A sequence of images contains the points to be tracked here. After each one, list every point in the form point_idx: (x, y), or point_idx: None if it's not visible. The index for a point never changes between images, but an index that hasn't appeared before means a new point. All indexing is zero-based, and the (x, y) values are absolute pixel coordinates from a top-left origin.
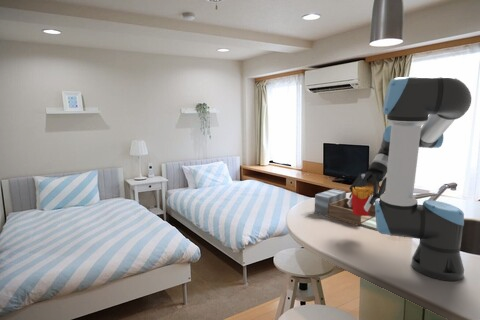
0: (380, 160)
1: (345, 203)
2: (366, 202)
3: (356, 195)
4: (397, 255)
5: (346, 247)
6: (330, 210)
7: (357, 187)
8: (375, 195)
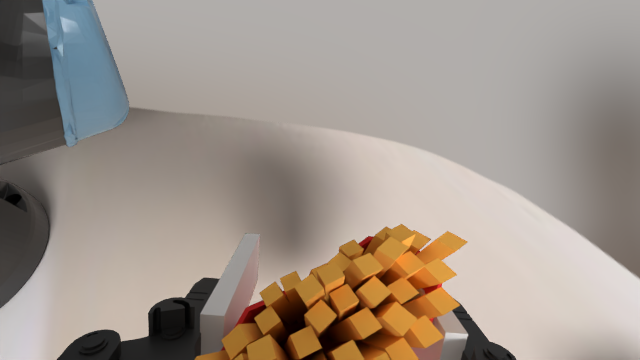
0: None
1: None
2: (248, 257)
3: (365, 251)
4: (104, 264)
5: (283, 190)
6: None
7: (403, 243)
8: (154, 332)
